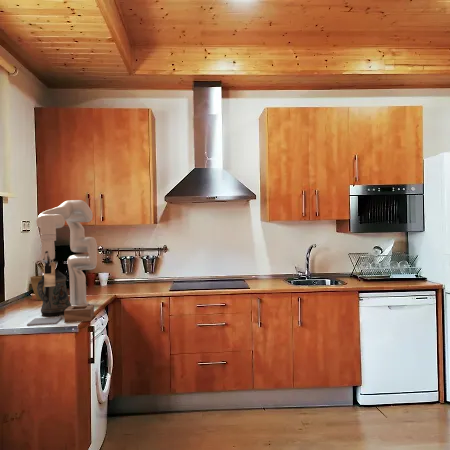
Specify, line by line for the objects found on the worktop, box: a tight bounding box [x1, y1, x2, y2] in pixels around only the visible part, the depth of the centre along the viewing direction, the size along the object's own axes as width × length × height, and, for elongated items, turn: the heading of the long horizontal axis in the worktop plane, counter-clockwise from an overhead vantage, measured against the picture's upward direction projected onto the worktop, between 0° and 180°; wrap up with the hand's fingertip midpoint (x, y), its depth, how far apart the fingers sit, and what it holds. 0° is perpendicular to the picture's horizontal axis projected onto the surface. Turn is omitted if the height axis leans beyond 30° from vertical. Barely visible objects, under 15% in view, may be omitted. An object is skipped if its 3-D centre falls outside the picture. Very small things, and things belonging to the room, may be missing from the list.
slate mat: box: [26, 316, 63, 327], centre depth 231 cm, size 14×14×1 cm
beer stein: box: [37, 269, 72, 318], centre depth 250 cm, size 16×19×25 cm
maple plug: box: [43, 262, 56, 287], centre depth 231 cm, size 5×5×12 cm
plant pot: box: [30, 274, 44, 301], centre depth 303 cm, size 15×15×16 cm
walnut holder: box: [63, 304, 95, 323], centre depth 235 cm, size 13×13×6 cm
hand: (49, 272), depth 231 cm, fingers closed on maple plug, 5 cm apart
